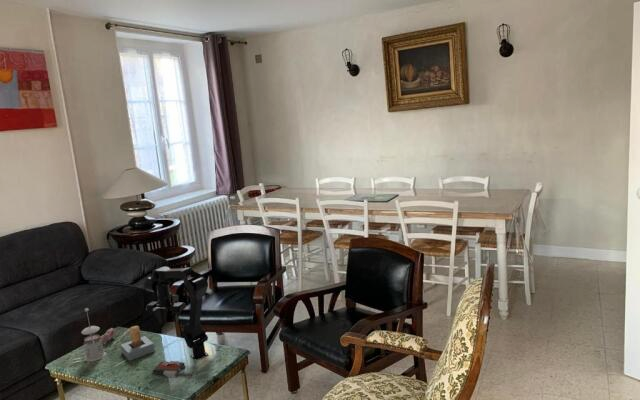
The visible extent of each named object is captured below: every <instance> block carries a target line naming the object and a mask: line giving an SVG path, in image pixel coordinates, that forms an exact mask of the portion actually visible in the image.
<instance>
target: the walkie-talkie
mask: <svg viewBox="0 0 640 400" xmlns="http://www.w3.org/2000/svg"><path fill="white" fill-rule="evenodd" d="M185 369H186V365H185V362H181V361H178V360H170V361H160V362H159V363H158V364H157V365H156V366H155V368H154V369H153V370H152V373H153V374H154V373H155V374H156V375H164V377H166V378H176V377H193V373H183V372H182V371H183V370H185Z"/></svg>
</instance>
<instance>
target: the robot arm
mask: <svg viewBox="0 0 640 400" xmlns="http://www.w3.org/2000/svg"><path fill="white" fill-rule="evenodd" d="M189 277H191V278H193V279H195V280H191V281H189ZM169 279H182V280H183V284H184V287H185V288H186V289H187V290H188V294H189V296H190V309H189V320H188V323H186V324H185V325H184V326H183V331H182V334H183V338H184V341H185V343H186V345H187V347H188V348H189V349H191V352H192V353H191V354H190V355H189V356H190V357H191V358H193V359H194V360H195V361H198V360H200V359H202V358H206V357H207V355H208V356H209V353H208V352H207V351H206V348H205V342H207V341H208V339H209V336H208V335H207V334H206V332H205V331H204V328H203V325H202V324H201V316H202V306H203V297H204V296H205V295H206V293H207V290H208V287H209V281H208V280H207V279H206V278H205V277H204V276H203V275H202V274H201V273H199V272H198V271H195V270H194V269H193V268H191V267H184V268H183V267H182V268H181V267H180V268H170V267H169V266H161V267H159V268H156V269H153V270H152V272H151V275H150V276H148V277H147V278H146V281H144V285H143V286H144V287H143V288H144V289H145V290H146V291H148V292H152V293H153V292H154V293H157V296H156V297H155V300H158V301H151V302H149V303H148V304H147V305H146V308H145V311H146V312H149V313H150V314H151V315H152V316H153V317H154V318H155V320H156V321H157V322H158V324H161V323H162V317H161V310H162V309H167V310H171V311H172V312H171V314H172V317H173V321H174V323H175V325H177V324H178V323H179V319H180V314H181V312H182V311H184V310H185V309H186V308H187V305H186V303H185V302H180V301H179V294H173V293H172V292H171V291H170V285H172V282H171V281H169ZM174 303H175V304H174Z"/></svg>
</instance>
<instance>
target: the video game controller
mask: <svg viewBox="0 0 640 400" xmlns="http://www.w3.org/2000/svg"><path fill="white" fill-rule="evenodd" d="M115 333H116V329H115V328H113V327H110V328H108V330H106V332H105V333H104V334H103V337H101V339H102V344H103V345H104V344H105V343H109V342H110V340H111V339H113V336H114V334H115ZM108 341H109V342H108Z"/></svg>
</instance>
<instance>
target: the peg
mask: <svg viewBox="0 0 640 400" xmlns="http://www.w3.org/2000/svg"><path fill="white" fill-rule="evenodd" d="M129 335H130V341H131V342H132V347H133V348H136V347H138V346H141V345H142V342H141V337H142V335H141V330H140V326H139V325H134V326H130V328H129Z"/></svg>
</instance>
